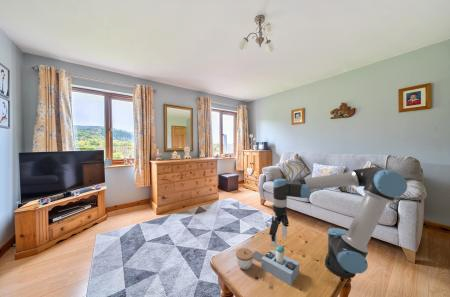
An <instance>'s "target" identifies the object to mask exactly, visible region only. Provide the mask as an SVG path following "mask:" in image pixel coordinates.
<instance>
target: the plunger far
mask: <svg viewBox="0 0 450 297" xmlns="http://www.w3.org/2000/svg"><path fill="white" fill-rule="evenodd" d="M266 253H267V258H269V259H272V252H269V251H267V252H266Z"/></svg>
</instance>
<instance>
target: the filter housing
mask: <svg viewBox="0 0 450 297" xmlns="http://www.w3.org/2000/svg"><path fill="white" fill-rule="evenodd" d="M268 252H272V259H269V258H267V252H266V254H263V255H264V256H263V257H262V258H261V260H260V262H261V263H260V264H261V265H260V269H262V270H264V271H265V272H267V273H269V274H271V275H272V276H274V277H275V278H277V279H279V280H281V281H283V282H284V283H286V284H287V285H289V286H292V285H293V283H294V282H295V281H296V279H297V277H298V276H299V275H300V262H298V261H297V260H295V259H293V258H290V257H288V256H286V255H284V264H283V266H282V265H280V264H279V263H277V262H276V250H273V249H270V250H268ZM288 262H293V263H294V271H292V270H290V269H288Z"/></svg>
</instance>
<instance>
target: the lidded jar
mask: <svg viewBox="0 0 450 297" xmlns="http://www.w3.org/2000/svg"><path fill="white" fill-rule="evenodd" d="M253 253H254V252H253V251H252V250H251V249H249V248H246V247H240V248H238V249H237V250H236V251H235V258H236V260H235V261H236V262H237V266H239V267H240V269H242V270H248V269H249V268H250V267H251V266H252V264H253V262H254V258H253Z"/></svg>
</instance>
